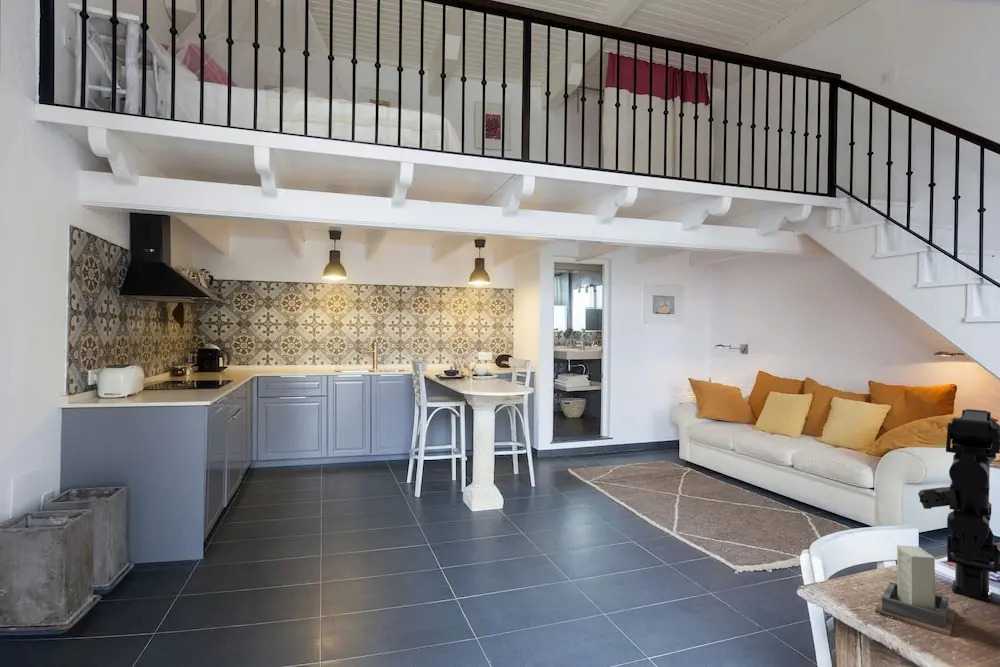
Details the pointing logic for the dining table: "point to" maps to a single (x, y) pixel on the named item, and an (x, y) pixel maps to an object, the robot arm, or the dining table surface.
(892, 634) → the dining table surface
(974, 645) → the dining table surface
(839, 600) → the dining table surface
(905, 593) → the skincare box
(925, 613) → the box stand
